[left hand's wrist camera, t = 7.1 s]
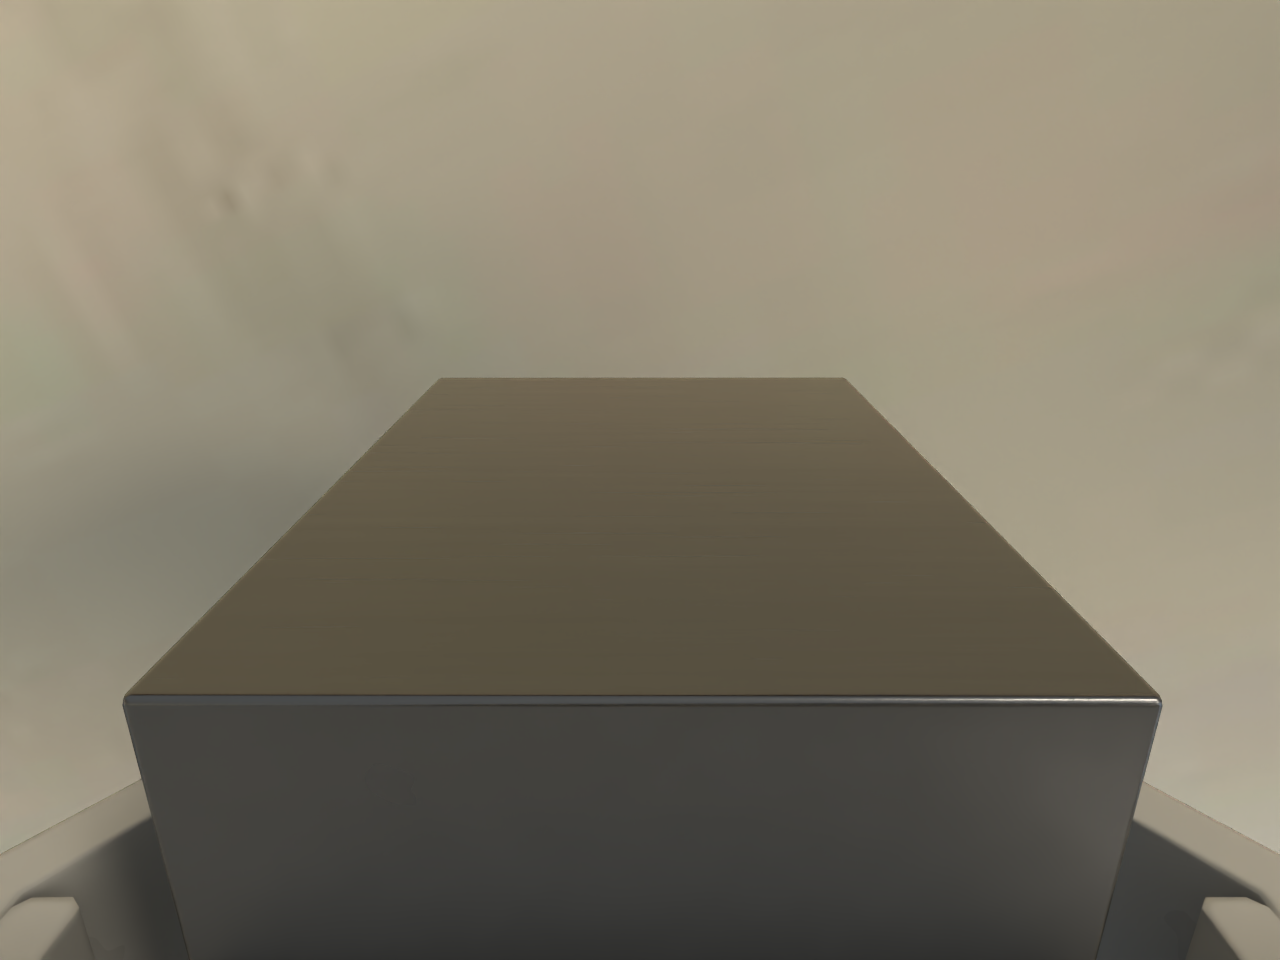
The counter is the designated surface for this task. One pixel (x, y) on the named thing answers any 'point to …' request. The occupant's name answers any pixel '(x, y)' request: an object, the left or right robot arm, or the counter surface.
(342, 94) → the counter surface
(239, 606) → the bar
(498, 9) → the counter surface
